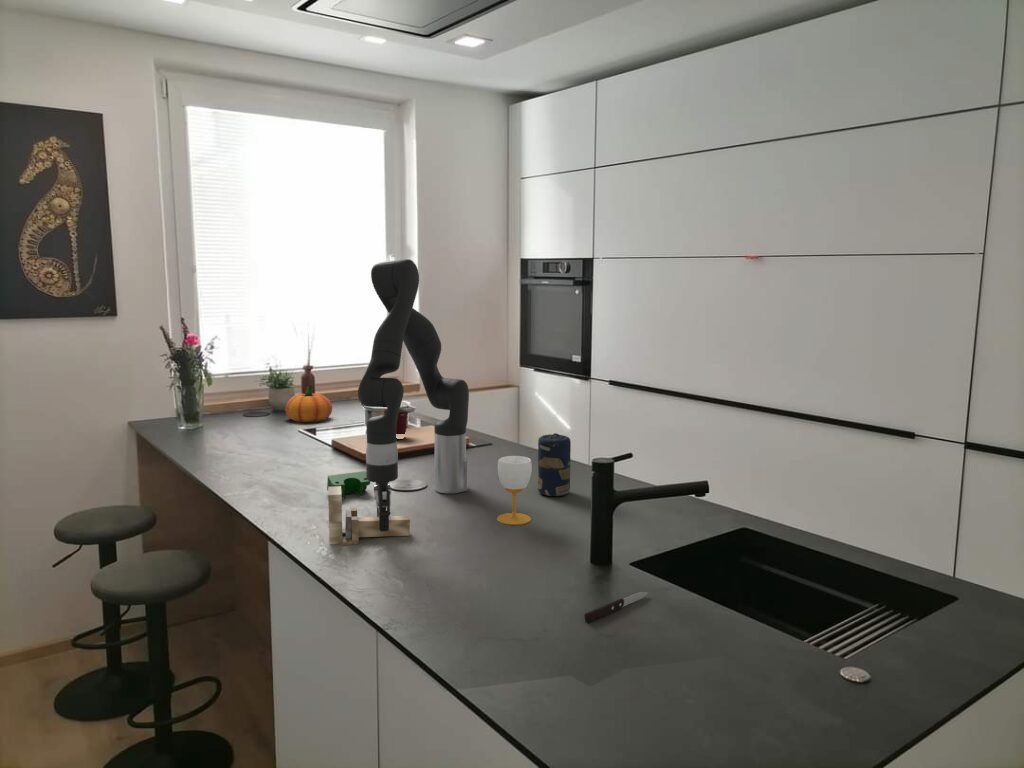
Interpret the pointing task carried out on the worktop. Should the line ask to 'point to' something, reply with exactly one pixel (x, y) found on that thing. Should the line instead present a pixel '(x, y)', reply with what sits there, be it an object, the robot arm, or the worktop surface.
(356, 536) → the post block
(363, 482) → the clamp
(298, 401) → the pumpkin
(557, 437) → the canister
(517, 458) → the cup
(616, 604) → the kitchen knife
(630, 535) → the worktop surface
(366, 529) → the light wooden bar
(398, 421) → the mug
